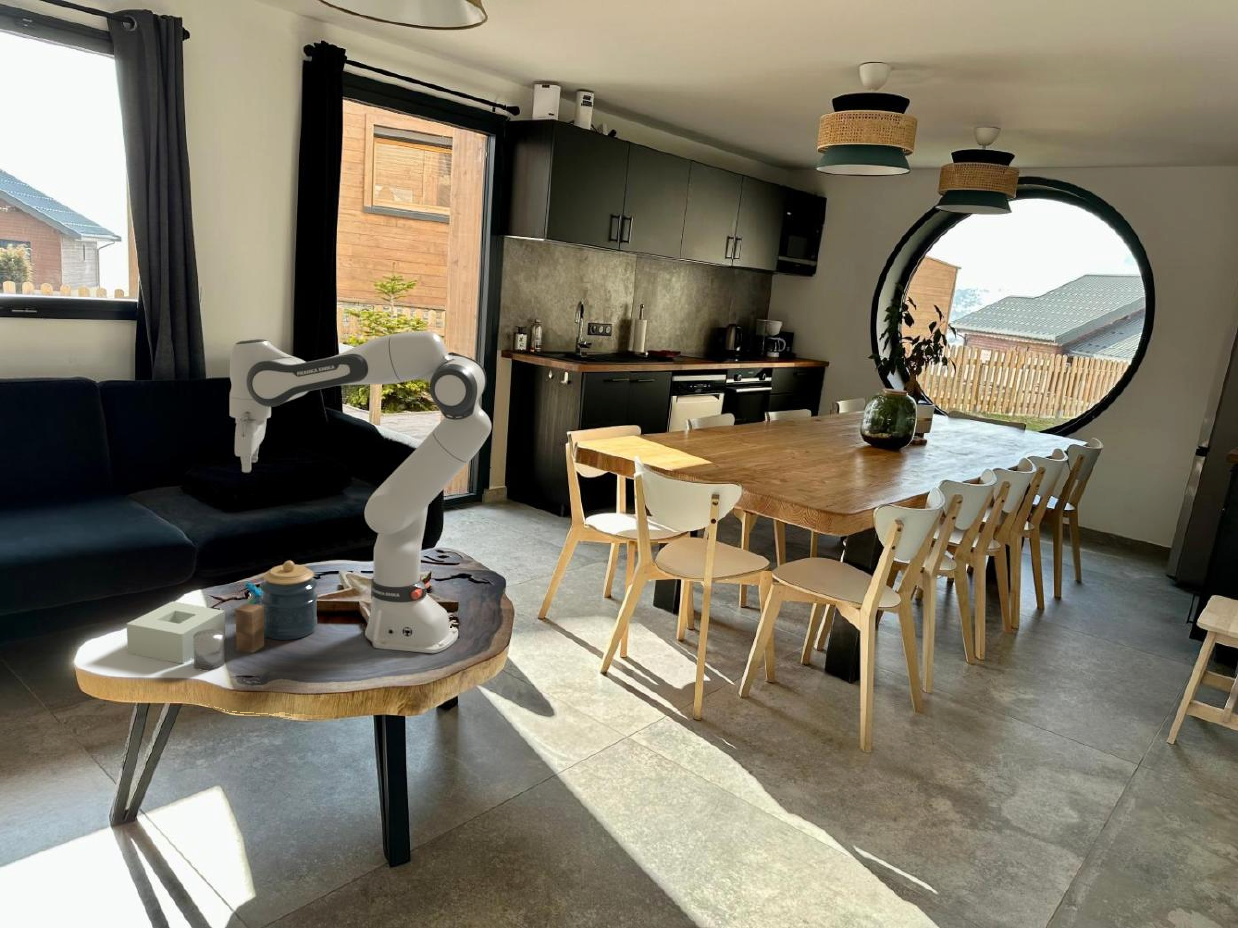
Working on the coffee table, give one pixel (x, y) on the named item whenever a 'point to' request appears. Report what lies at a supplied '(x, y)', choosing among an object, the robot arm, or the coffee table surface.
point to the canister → (289, 602)
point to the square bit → (249, 628)
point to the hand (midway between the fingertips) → (249, 466)
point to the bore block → (171, 631)
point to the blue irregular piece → (254, 593)
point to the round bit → (208, 649)
